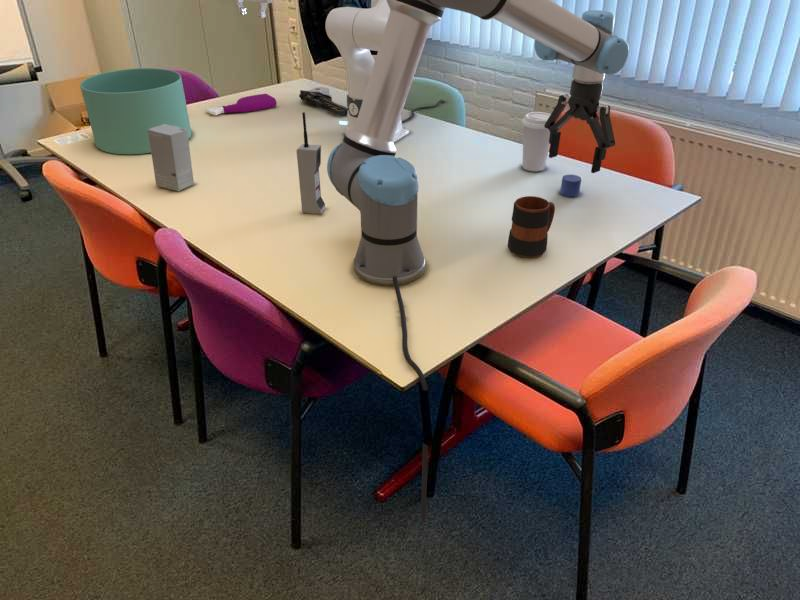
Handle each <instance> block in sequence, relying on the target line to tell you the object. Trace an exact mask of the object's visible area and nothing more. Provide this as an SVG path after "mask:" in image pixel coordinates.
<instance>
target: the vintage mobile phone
mask: <svg viewBox="0 0 800 600" xmlns="http://www.w3.org/2000/svg"><path fill="white" fill-rule="evenodd" d="M301 114H302V127H303V143H301V144H300V146H299V147H298V148H297V149H296V158H297V159H296V160H297V161H296V162H297V171H298V181H299V192H300V194H299V195H300V203H301V204H300V205H301V212H302V213H303V214H315V215H321V214H322V213H323V212H324V210H325V209H326V203H325V201H324V200H323V198H322V193H321V178H320V166H321V164H322V157H321V156H322V145H321V144H309V141H308V139H309V138H308V131H307V122H306V121H307V120H306V112H304V111H303V112H301Z"/></svg>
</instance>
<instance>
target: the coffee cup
mask: <svg viewBox="0 0 800 600" xmlns="http://www.w3.org/2000/svg"><path fill="white" fill-rule="evenodd" d="M550 115H551V113H548V112H544V111H532V112H528V113H526V114H525V115H524V117H523V118H522V120H521V125H522V161H521V162H522V163H521V164H522V165H521V166H522V169H524V170H525V171H528V172H542V171H544V170H545V169H546V166H547V161H548V157H549V152H550V145H551V144H549V137H550V131H549V129H548V128H545V127H544V125H545V123H546V122H547V120H548V118H549V117H550Z"/></svg>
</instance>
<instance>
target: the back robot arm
mask: <svg viewBox="0 0 800 600" xmlns="http://www.w3.org/2000/svg"><path fill="white" fill-rule="evenodd" d="M234 1H235V2H234V3H235V4H236V7H237V9H238V12H239V13H238V14H239V15H243V16H245V15H247V8H246V7H245V6H244V0H234ZM245 1H247V2H254V3H258V6H259V11H257V15H258V16H257V17H258V18H261V19H264V18H266V17H267V16H266V11H267V8H268V4H273V3H275V0H245ZM389 14H390V8H389V5H388V3H387V1H386V0H371V1H370V8H362V7H353V6H341V7H336V8H333V9H331V10H330V11H329V13H328V14H327V17H326V19H325V24H324V25H325V32H326V35H327V37H328V39H329V40H330V41H331V42H332V43H333V44H334V46H336V48H337V51H338V52H339V54H340V56H341V59H342V61H343V63H344V67H345V72H346V83H347V95H346V108H348V111H347V115H346V120H345V121H344V120H339V125H344V126H346V128H345V130H344V134H345V133H346V132H347V131H349V130H351V129H353V128H354V127H355V125H356V121H357V118H358V115H359V112H360V108H361V105H362V102H363V99H364V95H365V92H366V89H367V86H368V82H369V79H370V76H371V73H372V69H373V66H374V63H375V60H376V59H375V58H374V57H373V55H372V53H371V51H374V52H378V50H379V47H380V43H381V40H382V37H383V34H384V30H385V27H386V24H387V21H388V17H389ZM441 103H443V104H445V103H446V102H445V100H444V99H440V100H438V101H437V103H435V104H433V105H429V106H428V105H427V106H419V107H415V108H413V109H411V115H410V116H409V117H408V118H405V119H404V120H403V119H402V116H401V117H400V120H399V123H398V126H397V129H396V132H395V135H394V138H393V143H394V144H395V143H396V142H398V141H400V139H403V138H404V137H405V136H407V135H408V134H410V129H409V128H407V127H405V126H404V125H403V123H406V122H409V121H410V120H411V119H412V118H414V116H415V113H414V112H415V111H418V110H425V109H432V108H433V109H434V108H436V107H438V105H440V104H441Z"/></svg>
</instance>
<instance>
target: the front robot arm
mask: <svg viewBox="0 0 800 600" xmlns="http://www.w3.org/2000/svg"><path fill="white" fill-rule="evenodd" d="M386 1H387V3H388V5H389V8H390V14H389V17H388V21H387V24H386V27H385V30H384V34H383V37H382V40H381V43H380V47H379V50H378V51H377V53H376V57H375V59H374V60H375V63H374V66H373V69H372V73H371V76H370V79H369V82H368V86H367V89H366V92H365V95H364V99H363V102H362V105H361V108H360V112H359V115H358V118H357V121H356V125H355V127H354V128H353V129H351V130H349V131H347V132H346V133H345V132H344V136H343V138H342V141H341V142H340V143H339V144H338V145H336V146H334V148H333V149H332V150H331V152H330V153H329V156H328V158H327V163H326V172H327V176H328V179H329V181H330V183H331V184H332V186H333V187H334V189H335V190H336V191H337V192H338V193H339V194H340V195H341V196H342V197H344V198H345V199H346V200H347V201H349V202H350V203H351V204H352V205H353V206H354V207H355V208H356V209H358V211H359V213H360V239H359V242H358V247H357V249H356V252H355V256H354V259H353V270H354V273H355V275H356V276H357V277H358V278H359V279H360V280H362V281H364V282H366V283H369V284H370V285H371V284H372V285H376V286H382V287H394V291H395V295H396V299H397V303H398V304H397V305H398V308H399V315H400V322H401V335H402V336H401V337H402V339H401V344H402V345H401V346H402V352H403V353H402V354H403V356H404V359H405V361H406V362H407V364H408V365H409V367H411V368H412V369H413V371H414V372H415V373H416V375H417V377H418V379H419V382H420V385H421V390H422V391H424V392H425V391H426V392H427V390H428V384H427V380H426V378H425V375H424V373H423V371H422V369H421V368H420V367H419V366H418V364H416V363H415V362H414V360H413V359H412V357H411V356H410V353H409V348H408V328H407V327H408V326H407V318H406V312H405V311H406V310H405V306H404V301H403V297H402V293H401V290H400V289H401V288H400V286H402V285H406V284H410V283H413V282H415V281H417V280H418V279H420V278H421V276H423V274H424V273H425V270H426V258H425V255H424V252H423V250H422V247H421V244H420V241H419V238H418V198H419V197H418V196H419V194H418V193H419V181H418V172H417V170H416V167H415V166H414V165H413V164H412V163H411V162H410V161H408V160H407V159H405V158H402V157H396V154H397V151H398V150H397V147H396V145H395V142H394V143H393V138H394V135H395V132H396V129H397V126H398V123H399V120H400V117H401V118H402V114H403V111H404V107H405V105H406V102H407V98H408V96H409V93H410V90H411V87H412V84H413V81H414V77H415V74H416V71H417V68H418V67H419V66H418V65H419V63H420V60H421V57H422V54H423V50H424V47H425V45H426V42H427V39H428V35H429V33H430V30H431V27H432V26H433V25H435V24H436V23H438V22H440V21H441V20H442V18H443V15H444V13H445V10H446V9H450V10H455V11H459V12H464V13H466V14H471V15H473V16H475V17H478V18H479V19H481V20H484V21H490V20H492V19H494V20H496V21H498V22H500V23H502V24H503V25H506V26H507V27H509V28H511V29H513V30H515V31H517V32H518V33H521V34H523V35H524V36H526V37H528V38H530V39H532V40H534V51H535V53H536V55H537V57H538V58H539V59H540V60H542V61H550V62H553V61H555V60H557V61H559V60H560V61H563V62H566V63H569V64H572V65H573V69H572V70H573V71H572V76H571V77H572V79H573V80H571V84H570V90H569V94H567V93H566V94H562V95H559V96H558V99H557V104H556V105H555V107H554V108H553V110H552V111H551V113H550V114H551V115H550V117H549V118H548V120H547V122H546V123H545V125H544V127H545V128H548V129H549V131H550V137H549V144H550V147H549V152H548V158H550V159H553V158H555V157H558V154H559V148H560V143H561V142H560V141H561V134H562V132H561V131H560V130H561V128H563V127H564V126H565V125H566V124H567V123H568V122H569V121H570V120H571V119H572V118H574V119H579V120H581V121H586V124H587V125H589V128H590V130H591V133H592V135H593V137H594V139H595V141H596V145H597V146H596V147H595V148H594V153H593V160H592V165H591V170H590V173H592V174H595V173H598V172H600V171H601V166H602V161H604V160H605V159H606V155H607V149H609V148H612V147H614V146H616V140H615V135H614V130H613V125H612V124H613V123H612V119H611V106H610V105H609V104H607V105H600V100H601V97H602V93H603V88H604V82H603V81H604V80H605V76H606V75H608V76H611V75H615V74H617V73H620V71H622V70H623V68H624V67H625V65H626V63H627V61H628V59H629V55H630V47H629V44H628V42H627V40H625V39H624V38H623V37H618V36H617V35H615V34H614V28H615V18H616V17H615V14H613V12H610V11H607V10H601V9H592V10H591V9H589V10H586V11H584V12H582V14H581V17H579V16H578V15H577V14H575V13H573V12H571V11H569V10H568V9H566V8H564V7H562V6H561V5H559V4H557V3H556V2H554V1H552V0H386ZM569 95H570V96H569ZM567 105H568V106H569V109H567V110H566V111H565V108H566V107H567ZM563 111H565V113H564V114H563V115H562V113H563ZM561 115H562V116H561ZM560 116H561V117H560ZM428 456H429V446H428V445H427V444H425V443H424V442H422V459H421V460H422V463H421V464H422V465H421V466H422V467H421V499H420V520H421V521H425V520H426V519H427V492H428V491H427V490H428V489H427V488H428V487H427V485H428V465H429V464H428V463H429V457H428Z"/></svg>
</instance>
